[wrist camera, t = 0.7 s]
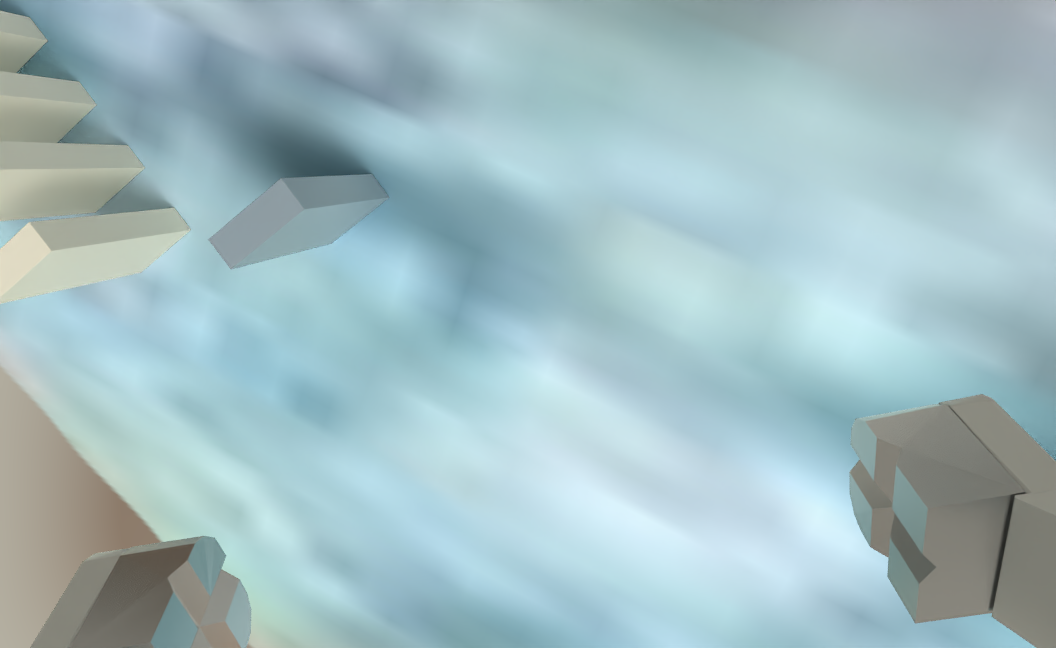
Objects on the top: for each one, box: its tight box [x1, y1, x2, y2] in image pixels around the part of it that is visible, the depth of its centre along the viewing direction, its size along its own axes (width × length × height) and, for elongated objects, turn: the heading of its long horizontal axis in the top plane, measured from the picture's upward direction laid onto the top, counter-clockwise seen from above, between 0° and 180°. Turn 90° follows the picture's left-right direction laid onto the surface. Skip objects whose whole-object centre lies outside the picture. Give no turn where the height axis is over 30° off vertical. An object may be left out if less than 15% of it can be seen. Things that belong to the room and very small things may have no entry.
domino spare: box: [208, 174, 389, 269], centre depth 42 cm, size 2×5×12 cm, turn 126°
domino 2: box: [0, 208, 191, 304], centre depth 44 cm, size 2×5×12 cm, turn 126°
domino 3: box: [0, 141, 145, 221], centre depth 44 cm, size 2×5×12 cm, turn 126°
